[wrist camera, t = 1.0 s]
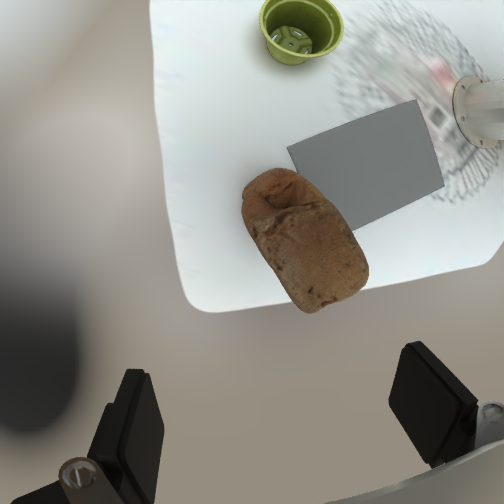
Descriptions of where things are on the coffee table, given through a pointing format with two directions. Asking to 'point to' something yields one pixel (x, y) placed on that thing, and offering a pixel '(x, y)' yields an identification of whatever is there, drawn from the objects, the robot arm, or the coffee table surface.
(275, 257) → the block
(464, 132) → the robot arm
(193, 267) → the coffee table surface
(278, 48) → the plant pot
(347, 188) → the mat
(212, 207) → the coffee table surface
